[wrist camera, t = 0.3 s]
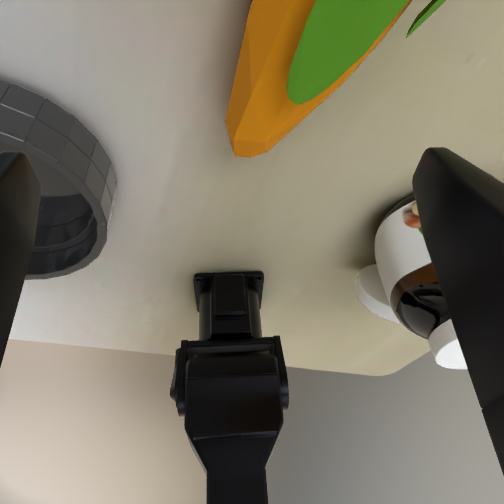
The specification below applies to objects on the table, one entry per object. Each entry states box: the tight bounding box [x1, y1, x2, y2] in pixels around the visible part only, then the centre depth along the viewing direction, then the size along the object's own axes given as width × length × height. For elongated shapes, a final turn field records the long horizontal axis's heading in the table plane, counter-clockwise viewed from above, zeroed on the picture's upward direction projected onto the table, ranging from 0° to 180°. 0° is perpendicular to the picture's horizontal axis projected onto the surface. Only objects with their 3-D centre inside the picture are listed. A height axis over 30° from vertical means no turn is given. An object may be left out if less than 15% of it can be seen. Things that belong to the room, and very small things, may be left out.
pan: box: [0, 81, 116, 280], centre depth 25 cm, size 13×13×4 cm
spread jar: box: [354, 194, 468, 369], centre depth 31 cm, size 12×11×12 cm
